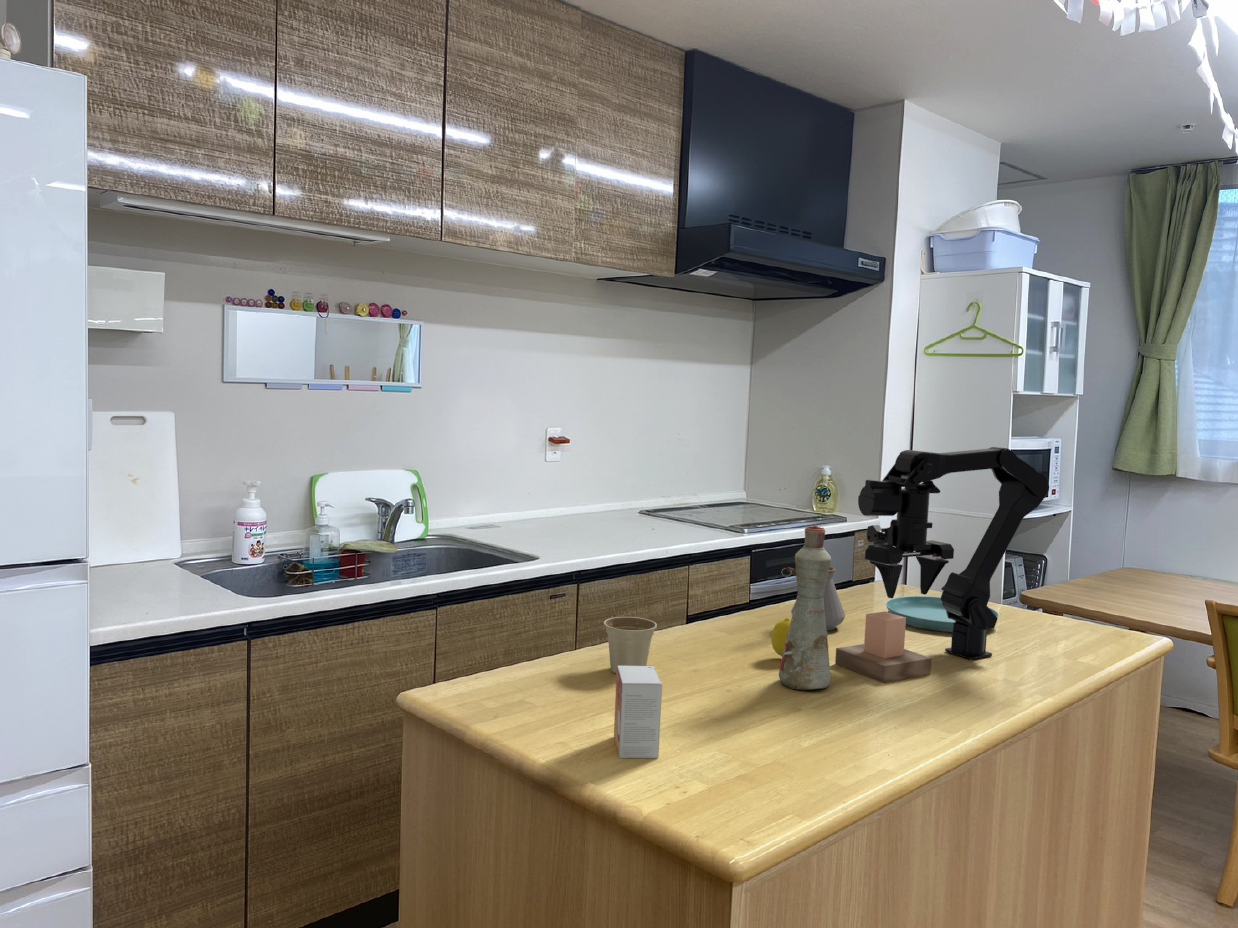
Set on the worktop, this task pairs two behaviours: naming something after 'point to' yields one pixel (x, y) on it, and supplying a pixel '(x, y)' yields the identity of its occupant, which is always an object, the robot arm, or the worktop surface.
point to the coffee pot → (828, 601)
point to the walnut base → (883, 664)
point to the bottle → (808, 619)
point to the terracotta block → (884, 634)
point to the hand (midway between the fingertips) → (907, 596)
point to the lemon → (780, 635)
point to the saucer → (923, 612)
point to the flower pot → (629, 641)
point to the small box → (637, 712)
